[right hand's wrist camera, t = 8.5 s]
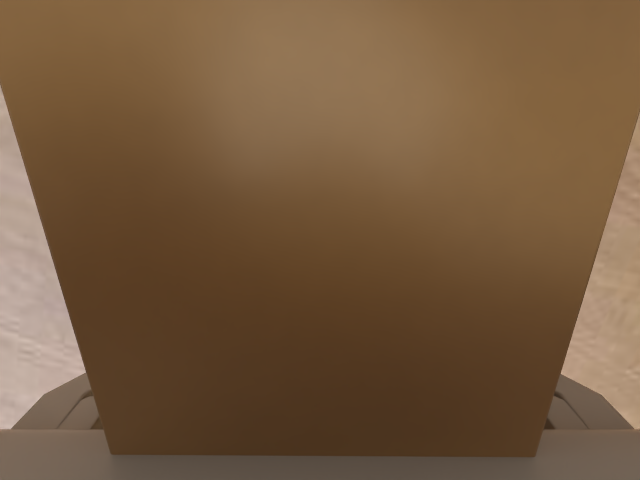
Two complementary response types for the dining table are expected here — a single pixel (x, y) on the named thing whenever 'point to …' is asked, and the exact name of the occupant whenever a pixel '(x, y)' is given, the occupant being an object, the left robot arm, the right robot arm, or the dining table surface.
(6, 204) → the dining table surface
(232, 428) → the box
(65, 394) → the right robot arm
